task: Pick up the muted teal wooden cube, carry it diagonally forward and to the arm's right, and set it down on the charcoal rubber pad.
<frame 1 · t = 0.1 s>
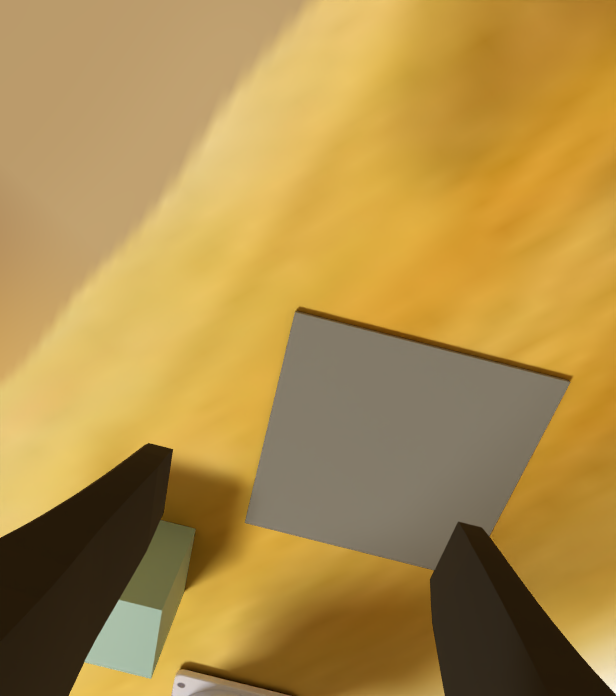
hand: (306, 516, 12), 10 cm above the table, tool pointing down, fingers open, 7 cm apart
teal cube: (146, 549, 27), on the table
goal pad: (390, 457, 23), on the table
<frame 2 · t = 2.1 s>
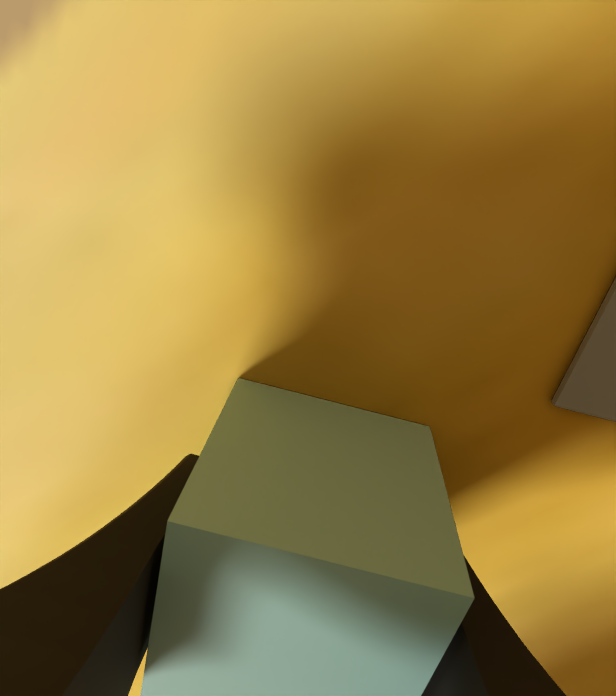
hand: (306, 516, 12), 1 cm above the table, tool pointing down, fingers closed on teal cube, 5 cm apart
teal cube: (311, 478, 13), on the table, touching gripper
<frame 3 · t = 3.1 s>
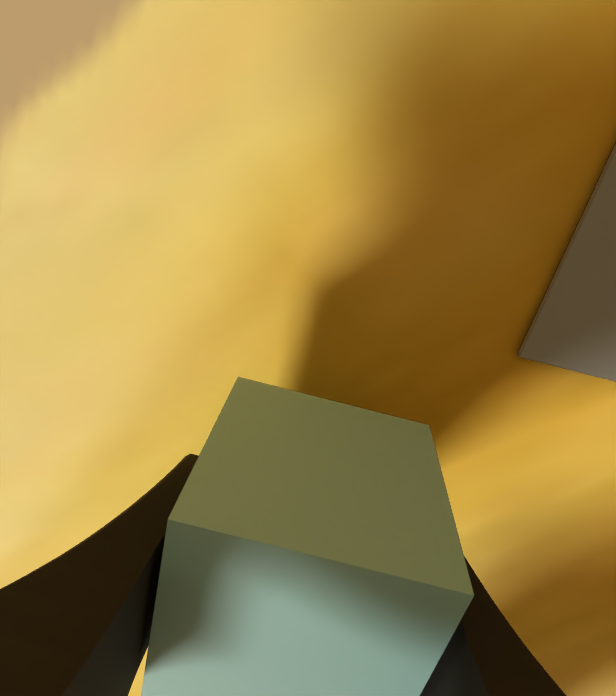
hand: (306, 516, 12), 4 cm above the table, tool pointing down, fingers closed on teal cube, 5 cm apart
teal cube: (311, 477, 13), point 3 cm above the table, touching gripper
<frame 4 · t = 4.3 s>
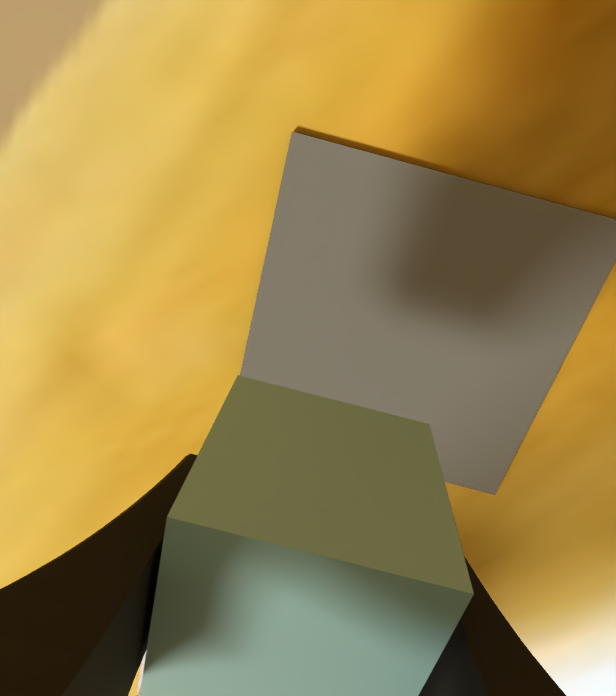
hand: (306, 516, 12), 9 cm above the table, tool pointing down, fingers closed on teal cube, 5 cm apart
teal cube: (310, 476, 13), point 7 cm above the table, touching gripper
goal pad: (406, 335, 19), on the table
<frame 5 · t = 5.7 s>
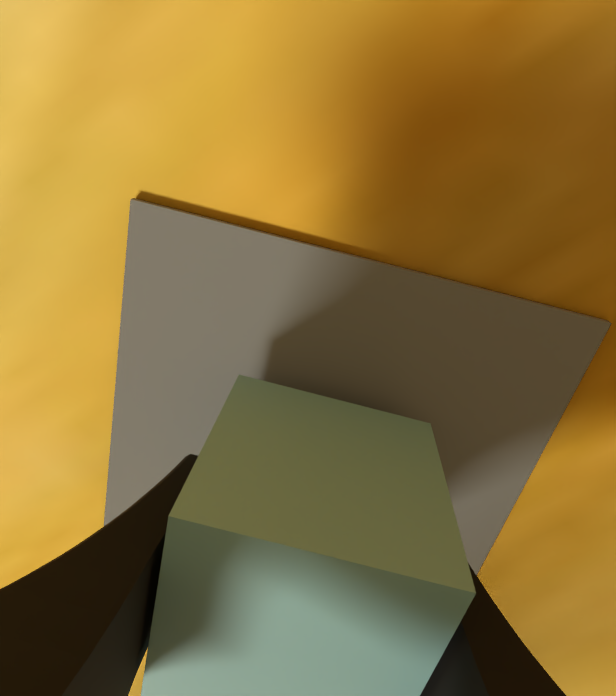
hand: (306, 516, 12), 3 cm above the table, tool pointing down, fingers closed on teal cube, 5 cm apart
teal cube: (311, 475, 13), point 1 cm above the table, touching gripper
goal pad: (314, 454, 14), on the table
when the fingers open (2 cm above the table, at t = 6.6 s): teal cube stays where it is, resting on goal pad.
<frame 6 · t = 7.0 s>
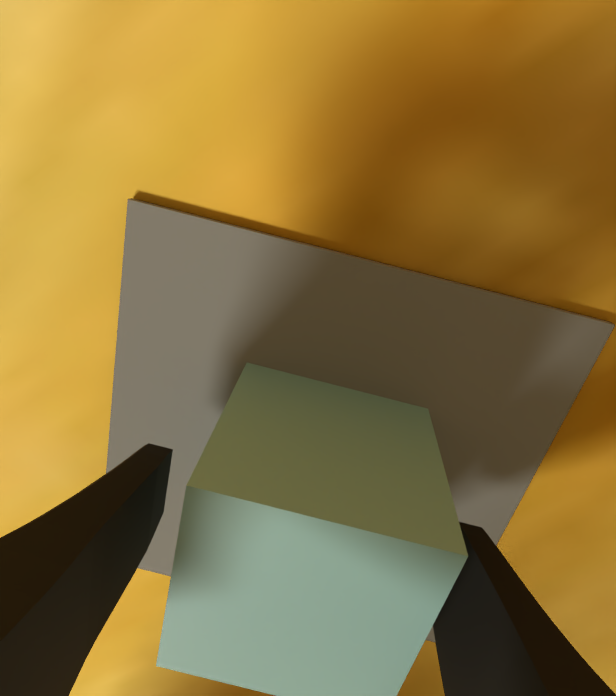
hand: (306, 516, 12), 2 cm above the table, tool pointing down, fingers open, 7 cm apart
teal cube: (315, 459, 14), resting on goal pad
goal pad: (314, 457, 14), on the table
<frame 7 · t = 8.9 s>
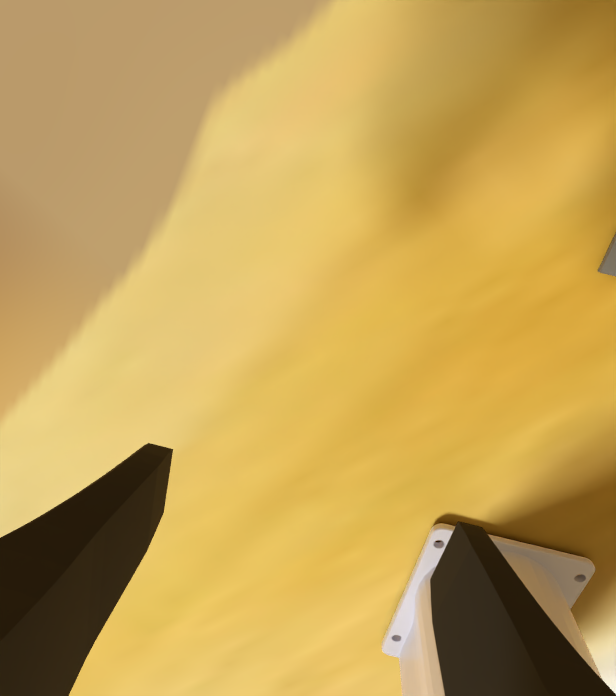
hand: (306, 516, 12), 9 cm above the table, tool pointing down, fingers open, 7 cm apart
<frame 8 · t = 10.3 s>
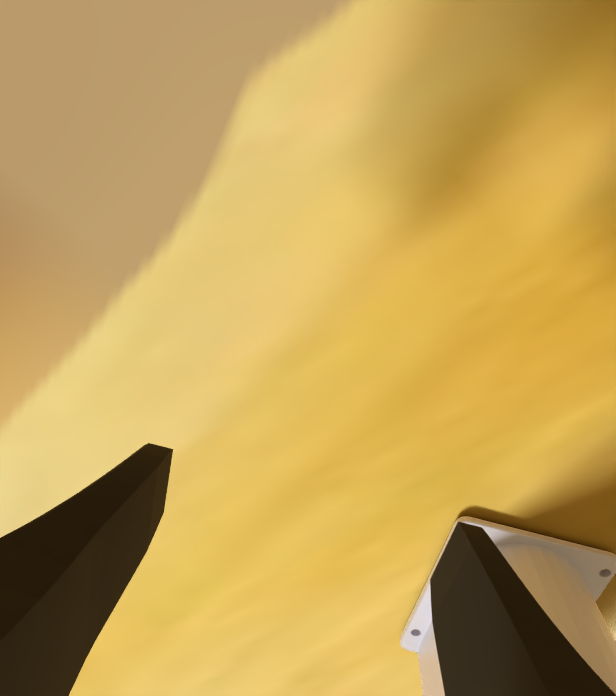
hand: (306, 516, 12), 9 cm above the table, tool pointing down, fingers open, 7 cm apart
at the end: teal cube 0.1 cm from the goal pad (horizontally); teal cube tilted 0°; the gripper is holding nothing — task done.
